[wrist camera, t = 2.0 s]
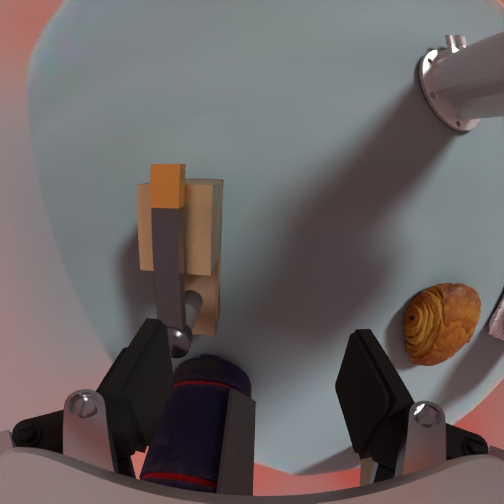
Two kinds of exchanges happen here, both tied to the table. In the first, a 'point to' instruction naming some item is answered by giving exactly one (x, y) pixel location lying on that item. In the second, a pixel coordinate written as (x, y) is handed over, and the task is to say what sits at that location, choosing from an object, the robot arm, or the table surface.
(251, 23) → the table surface
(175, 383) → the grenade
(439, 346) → the croissant
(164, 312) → the lever
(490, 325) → the cookie jar
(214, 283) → the plane body
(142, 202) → the brushed brass block
